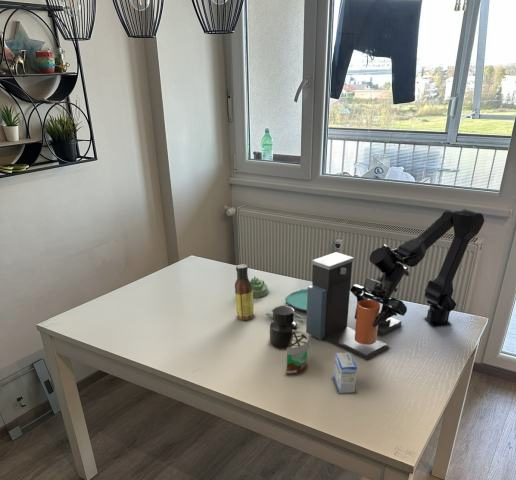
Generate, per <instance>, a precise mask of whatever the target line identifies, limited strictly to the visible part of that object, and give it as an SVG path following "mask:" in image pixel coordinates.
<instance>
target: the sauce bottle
mask: <svg viewBox="0 0 516 480" xmlns="http://www.w3.org/2000/svg"><path fill="white" fill-rule="evenodd" d="M248 269H249V268H248V265H247V264H244V263H243V264H242V263H241V264H238V265H236V266H235V271H236V280H235V282H234V295H235V296H234V297H235V308H236V315H237V318H238V320H242V321H249V320H252V319H254V316H255V315H254V313H255V310H254V309H255V308H254V298H253V294H252V286H251V284H250V282H249V281H250V280H249V274H248Z"/></svg>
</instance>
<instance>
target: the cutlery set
mask: <svg viewBox="0 0 516 480" xmlns="http://www.w3.org/2000/svg"><path fill="white" fill-rule="evenodd" d="M307 293H308V288H302V289H299V290H297V291H293V292H292V293H289V294H288V295H287V296H285V299H284V300H285V305H288V306H289V307H291V308H293V309H294V310H298V311H301V312H307ZM271 312H272V313H269V312H267V313H265V314H264V315H265V316H267V317H269V318H271V319H273V309H271ZM297 316H298V317H299V318H297ZM301 318H303V319H301ZM304 319H305V320H307V317H305V316H303V315H301V314H298V313H297V312H294V321H297V322H299V323H304ZM295 323H296V322H295ZM296 325H297V326H298V323H296Z"/></svg>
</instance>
